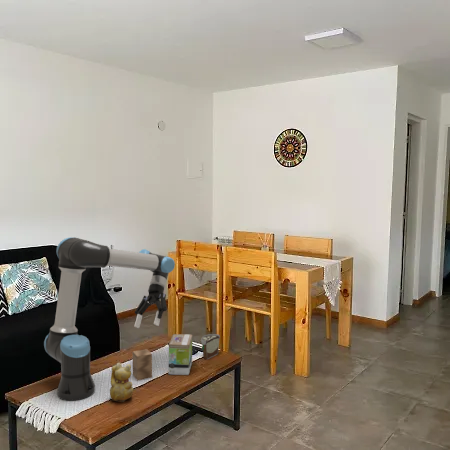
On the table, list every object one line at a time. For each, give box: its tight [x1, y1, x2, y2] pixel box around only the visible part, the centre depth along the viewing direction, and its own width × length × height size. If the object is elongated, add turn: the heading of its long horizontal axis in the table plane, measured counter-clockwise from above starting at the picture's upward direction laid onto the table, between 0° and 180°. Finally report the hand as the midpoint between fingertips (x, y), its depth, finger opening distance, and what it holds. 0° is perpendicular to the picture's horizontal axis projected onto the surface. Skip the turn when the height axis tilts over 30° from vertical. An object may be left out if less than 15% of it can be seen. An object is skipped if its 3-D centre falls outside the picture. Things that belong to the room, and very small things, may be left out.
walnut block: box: [131, 348, 153, 381], centre depth 215 cm, size 7×7×11 cm
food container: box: [200, 333, 221, 360], centre depth 241 cm, size 12×6×10 cm, turn 144°
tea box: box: [167, 333, 193, 376], centre depth 224 cm, size 15×10×15 cm
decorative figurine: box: [109, 362, 134, 403], centre depth 192 cm, size 10×8×15 cm
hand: (146, 326), depth 223 cm, fingers open, 13 cm apart
